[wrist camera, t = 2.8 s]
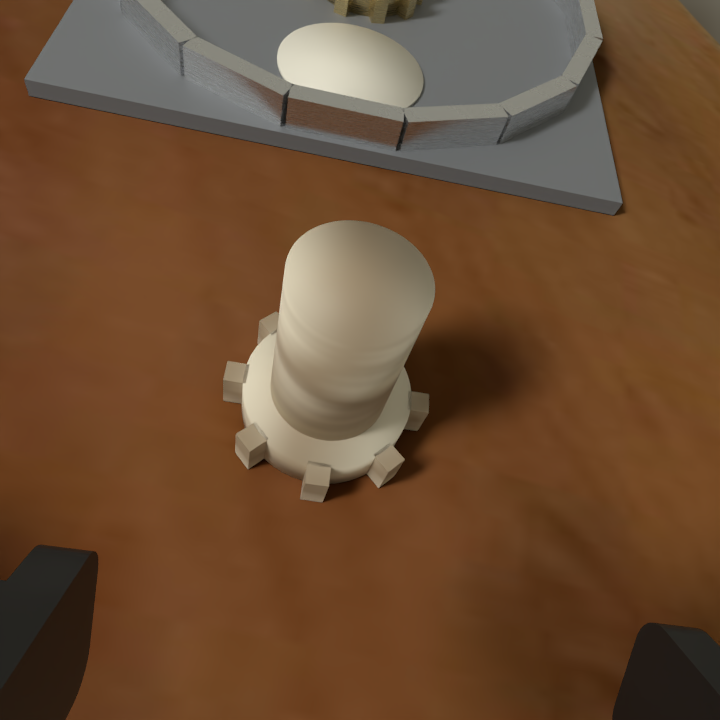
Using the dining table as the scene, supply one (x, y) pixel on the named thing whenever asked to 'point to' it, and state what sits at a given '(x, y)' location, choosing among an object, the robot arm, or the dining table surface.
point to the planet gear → (336, 359)
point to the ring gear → (358, 115)
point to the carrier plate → (356, 82)
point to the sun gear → (376, 8)
